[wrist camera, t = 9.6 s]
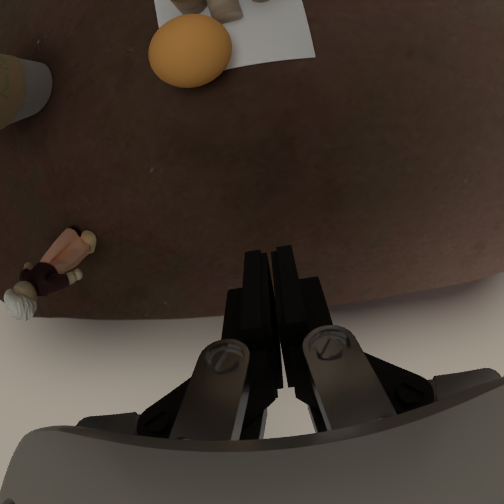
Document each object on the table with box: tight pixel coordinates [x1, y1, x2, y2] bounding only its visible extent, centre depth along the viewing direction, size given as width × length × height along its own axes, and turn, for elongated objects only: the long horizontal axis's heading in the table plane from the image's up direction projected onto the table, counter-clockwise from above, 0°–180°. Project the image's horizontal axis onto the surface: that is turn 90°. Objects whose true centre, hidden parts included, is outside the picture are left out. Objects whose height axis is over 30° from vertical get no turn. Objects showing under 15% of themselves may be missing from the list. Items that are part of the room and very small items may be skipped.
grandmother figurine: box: [4, 228, 96, 321], centre depth 21 cm, size 8×4×13 cm, turn 96°
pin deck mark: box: [154, 0, 315, 70], centre depth 17 cm, size 12×10×1 cm
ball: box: [149, 14, 232, 88], centre depth 16 cm, size 6×6×6 cm
